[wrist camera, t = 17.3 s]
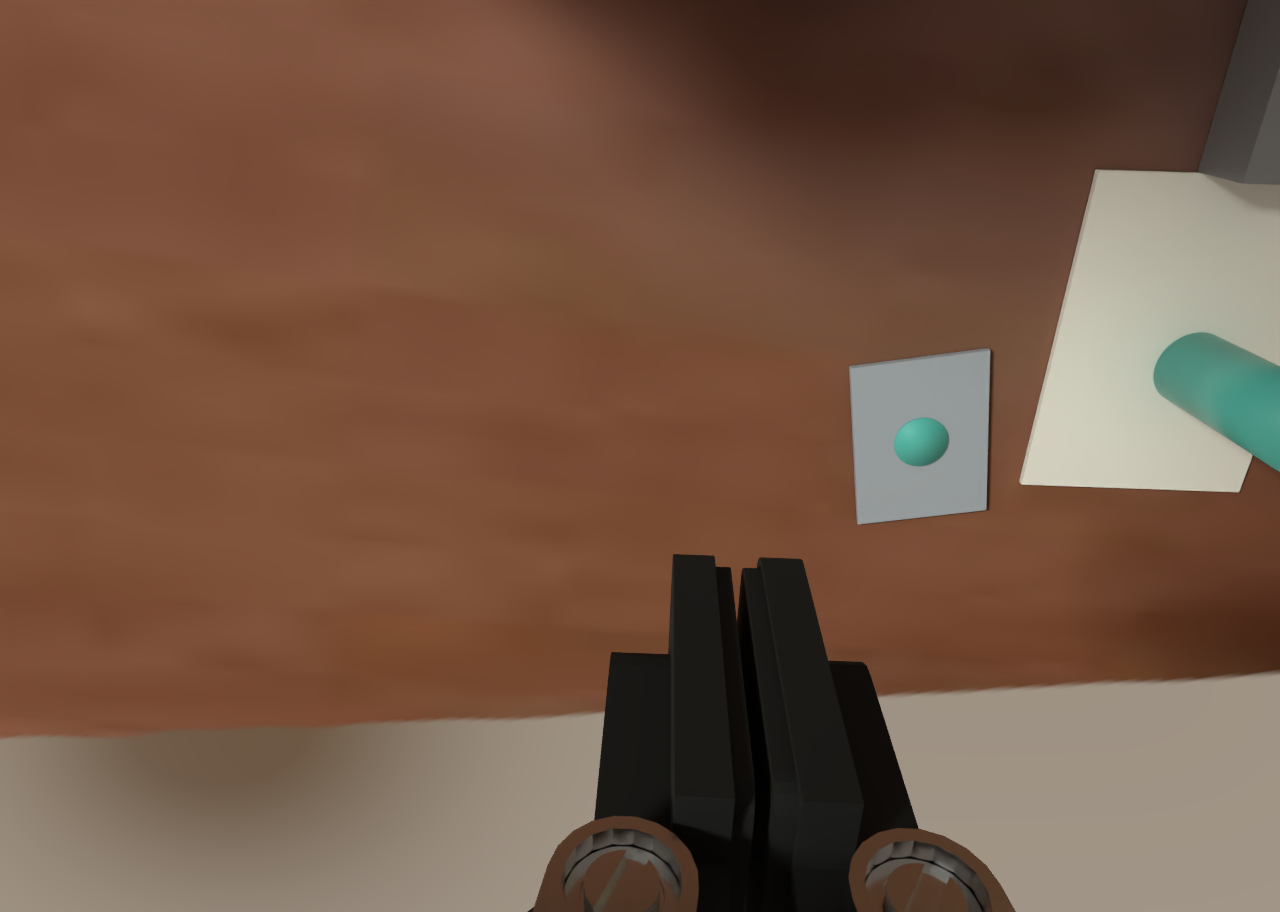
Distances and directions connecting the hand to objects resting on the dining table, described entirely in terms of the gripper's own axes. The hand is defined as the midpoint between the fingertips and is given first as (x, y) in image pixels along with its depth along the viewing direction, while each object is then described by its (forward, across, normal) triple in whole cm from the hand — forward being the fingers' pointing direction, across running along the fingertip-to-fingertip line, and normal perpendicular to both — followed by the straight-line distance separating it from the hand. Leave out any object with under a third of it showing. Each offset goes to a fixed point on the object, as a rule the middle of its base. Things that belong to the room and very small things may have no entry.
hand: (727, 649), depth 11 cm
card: (+27, -11, +9) cm, 31 cm away
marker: (+27, -22, +5) cm, 35 cm away
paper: (+27, -21, +4) cm, 35 cm away
